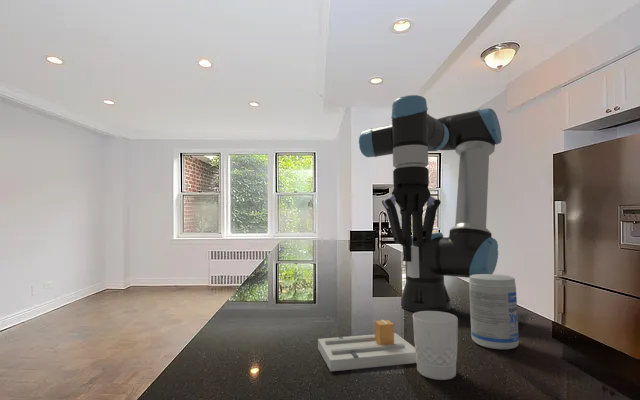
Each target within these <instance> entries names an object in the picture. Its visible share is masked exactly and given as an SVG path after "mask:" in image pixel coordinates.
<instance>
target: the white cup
mask: <svg viewBox="0 0 640 400" xmlns="http://www.w3.org/2000/svg"><path fill="white" fill-rule="evenodd" d="M412 323H413V325H412V327H413V337H414V338H413V340H414V342H413V343H414V347H415V353H416V356H417V363H416V371H417V372H418V374H419V375H422V376H423V377H424V378H428V379H432V380H439V381H446V380H451V379H454V378H455V377H456V376H457V360H458V341H459V340H458V338H459V337H458V335H459V334H458V333H459V331H458V329H459V319H458V316H456V315H455V314H452V313H450V312H440V311H420V312H414V313H413V314H412Z"/></svg>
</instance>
